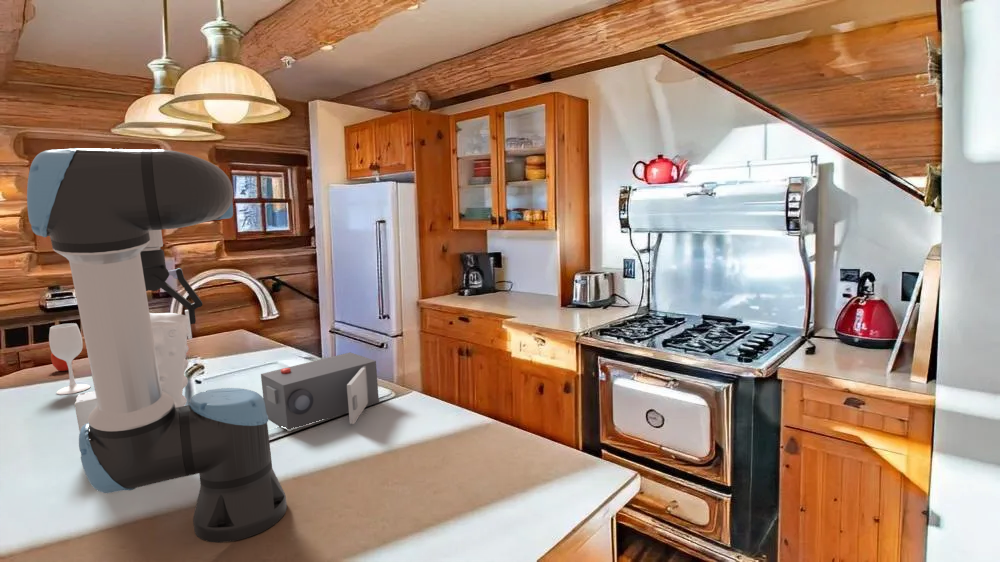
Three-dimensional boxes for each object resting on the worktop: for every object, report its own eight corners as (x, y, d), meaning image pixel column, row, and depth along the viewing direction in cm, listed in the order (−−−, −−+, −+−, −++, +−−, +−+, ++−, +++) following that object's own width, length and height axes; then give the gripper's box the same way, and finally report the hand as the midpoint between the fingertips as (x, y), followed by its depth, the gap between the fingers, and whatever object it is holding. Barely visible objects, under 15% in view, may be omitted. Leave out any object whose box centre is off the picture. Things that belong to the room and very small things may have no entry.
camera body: (383, 404, 154) (379, 359, 152) (289, 435, 135) (284, 384, 133) (353, 391, 165) (349, 349, 163) (263, 418, 147) (258, 371, 145)
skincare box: (116, 459, 125) (107, 396, 123) (83, 467, 122) (73, 402, 120) (117, 446, 132) (108, 386, 130) (86, 453, 129) (76, 392, 127)
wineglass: (76, 394, 172) (66, 328, 169) (49, 395, 172) (38, 329, 169) (97, 385, 180) (87, 322, 177) (70, 386, 181) (60, 322, 178)
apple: (48, 373, 196) (44, 352, 195) (64, 367, 203) (61, 347, 201) (63, 373, 195) (60, 352, 194) (79, 368, 201) (76, 348, 200)
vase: (80, 481, 111) (87, 324, 107) (104, 446, 126) (110, 308, 122) (178, 476, 117) (187, 328, 113) (189, 443, 132) (197, 312, 128)
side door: (371, 401, 152) (368, 366, 150) (356, 423, 137) (353, 384, 135) (365, 401, 152) (362, 366, 150) (349, 424, 137) (346, 385, 135)
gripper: (206, 244, 132) (216, 331, 135) (77, 252, 120) (91, 348, 123) (207, 246, 126) (218, 337, 129) (70, 255, 114) (85, 355, 117)
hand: (156, 342), depth 126 cm, fingers open, 13 cm apart
